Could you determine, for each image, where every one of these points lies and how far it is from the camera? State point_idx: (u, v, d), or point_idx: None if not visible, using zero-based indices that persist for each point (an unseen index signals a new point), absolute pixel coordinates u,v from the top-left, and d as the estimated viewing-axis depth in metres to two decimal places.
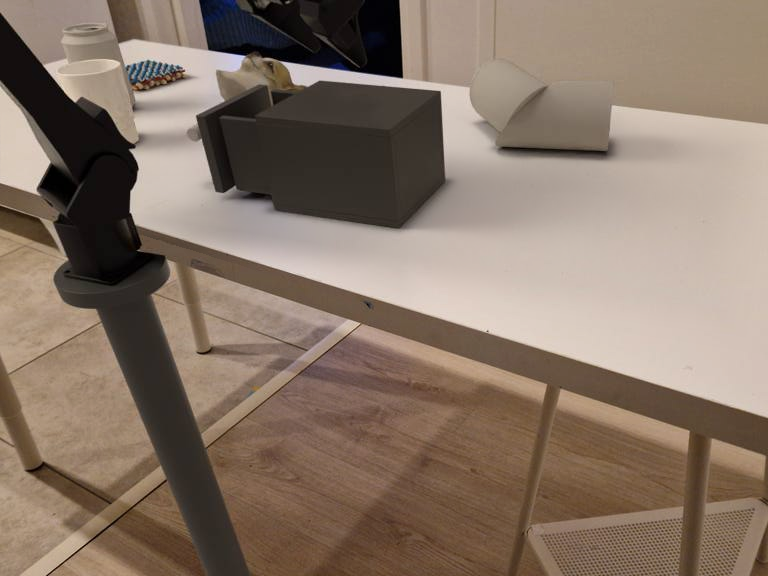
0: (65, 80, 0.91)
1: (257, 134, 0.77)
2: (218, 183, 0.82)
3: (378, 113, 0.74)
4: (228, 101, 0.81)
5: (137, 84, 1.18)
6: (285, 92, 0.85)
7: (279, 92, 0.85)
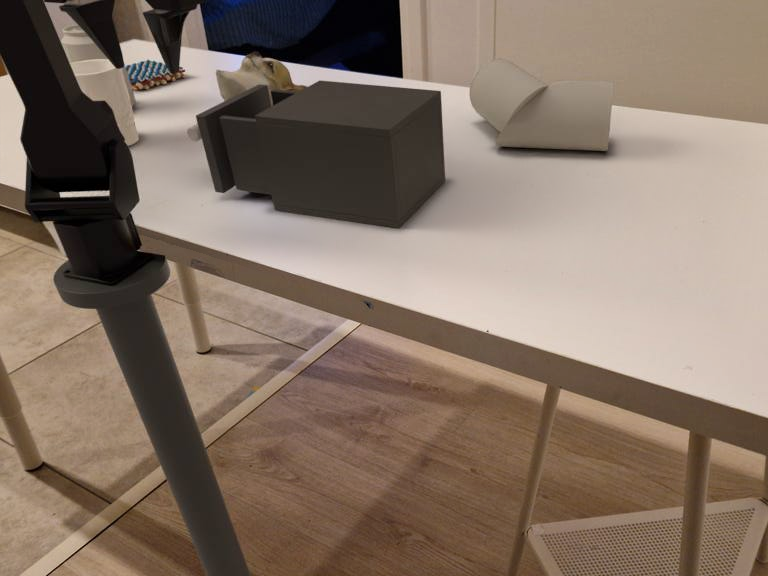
0: None
1: (257, 134, 0.77)
2: (218, 183, 0.82)
3: (378, 113, 0.74)
4: (228, 101, 0.81)
5: (137, 84, 1.18)
6: (285, 92, 0.85)
7: (279, 92, 0.85)
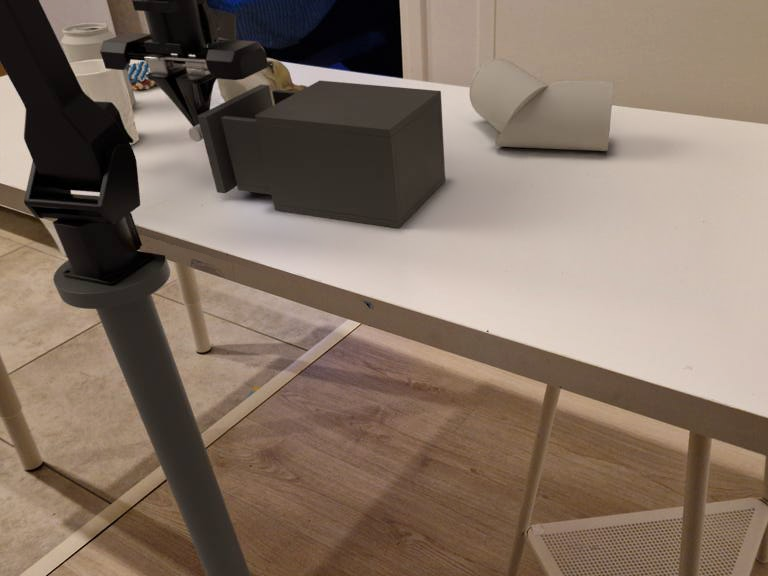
0: None
1: None
2: (219, 183, 0.82)
3: (378, 113, 0.74)
4: (229, 101, 0.81)
5: (137, 84, 1.18)
6: (287, 92, 0.85)
7: (281, 92, 0.85)
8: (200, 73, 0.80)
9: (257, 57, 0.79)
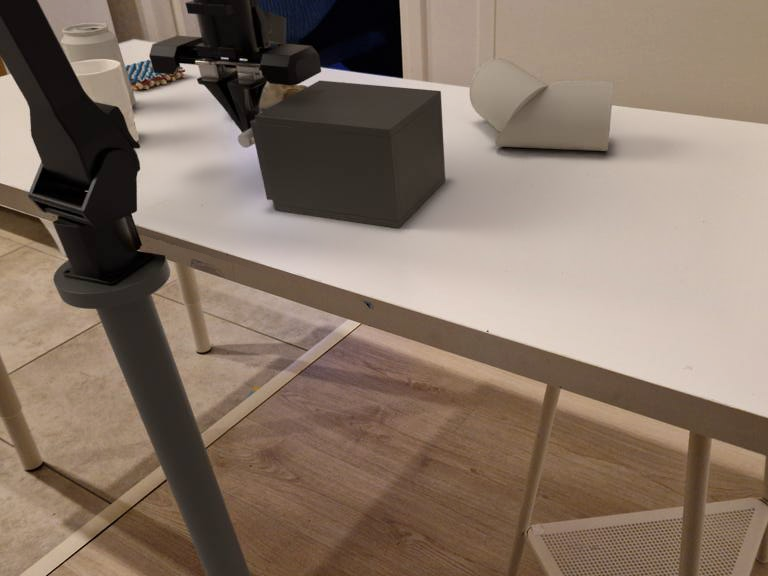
0: None
1: None
2: (270, 190, 0.80)
3: (378, 113, 0.74)
4: None
5: (137, 84, 1.18)
6: None
7: None
8: (252, 78, 0.78)
9: (311, 62, 0.77)
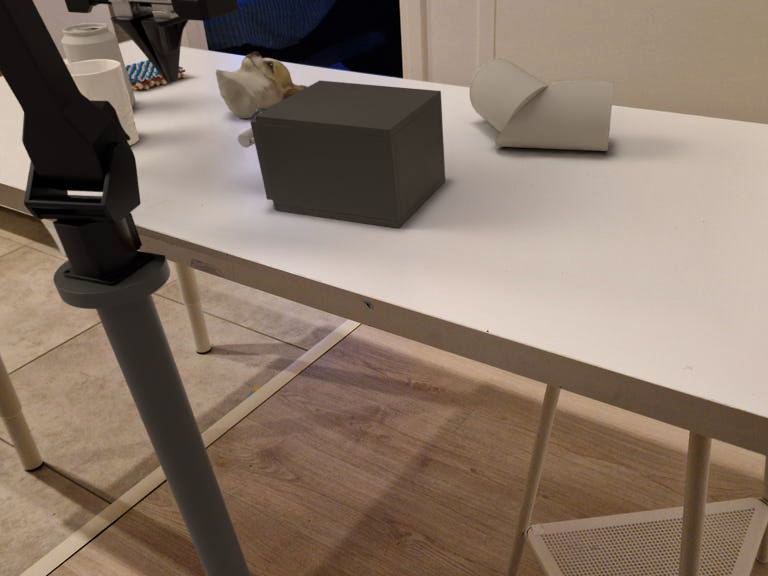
0: None
1: None
2: (270, 190, 0.80)
3: (378, 113, 0.74)
4: None
5: (137, 84, 1.18)
6: None
7: None
8: (166, 15, 0.75)
9: None
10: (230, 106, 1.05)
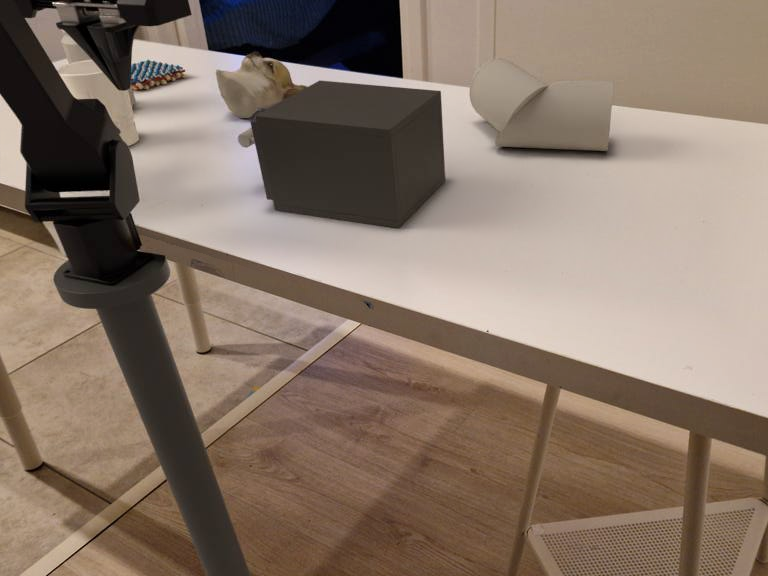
0: (65, 80, 0.91)
1: None
2: (270, 190, 0.80)
3: (378, 113, 0.74)
4: None
5: (137, 84, 1.18)
6: None
7: None
8: (114, 21, 0.71)
9: (177, 3, 0.70)
10: (230, 106, 1.05)
